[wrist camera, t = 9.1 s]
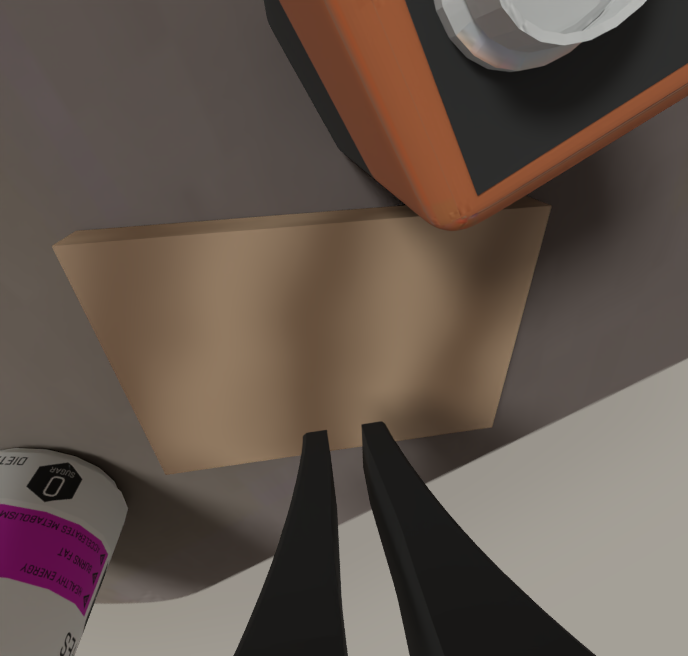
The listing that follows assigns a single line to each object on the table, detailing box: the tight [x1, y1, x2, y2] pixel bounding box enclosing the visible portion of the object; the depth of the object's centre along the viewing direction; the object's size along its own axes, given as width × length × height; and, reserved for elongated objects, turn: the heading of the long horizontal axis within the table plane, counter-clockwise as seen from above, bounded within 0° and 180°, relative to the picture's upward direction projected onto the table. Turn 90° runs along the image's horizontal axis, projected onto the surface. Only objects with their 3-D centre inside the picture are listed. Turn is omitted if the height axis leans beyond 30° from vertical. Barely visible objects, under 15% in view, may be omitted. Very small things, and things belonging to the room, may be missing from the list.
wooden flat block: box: [52, 196, 552, 475], centre depth 15 cm, size 16×11×2 cm
